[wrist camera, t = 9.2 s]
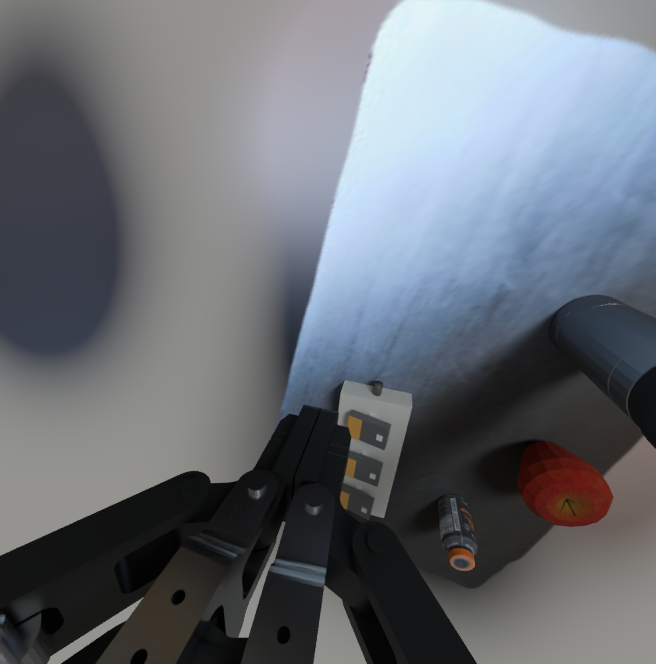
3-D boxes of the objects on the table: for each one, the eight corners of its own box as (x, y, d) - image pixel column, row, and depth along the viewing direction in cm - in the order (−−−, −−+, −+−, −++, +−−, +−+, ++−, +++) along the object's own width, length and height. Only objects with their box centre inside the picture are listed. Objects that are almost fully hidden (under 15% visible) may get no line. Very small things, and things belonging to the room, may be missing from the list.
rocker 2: (383, 462, 54) (381, 470, 53) (379, 480, 56) (377, 487, 54) (346, 449, 56) (342, 456, 55) (343, 466, 58) (340, 473, 57)
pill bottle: (473, 512, 61) (486, 574, 51) (443, 516, 63) (450, 576, 53) (462, 491, 60) (474, 551, 50) (432, 496, 62) (438, 554, 52)
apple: (594, 440, 50) (646, 508, 39) (553, 482, 54) (590, 552, 44) (527, 415, 50) (560, 474, 40) (492, 458, 55) (514, 521, 44)
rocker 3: (374, 498, 58) (371, 505, 56) (371, 513, 60) (368, 521, 58) (341, 481, 60) (337, 489, 59) (338, 497, 62) (335, 504, 61)
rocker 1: (391, 424, 50) (388, 430, 49) (386, 444, 52) (383, 451, 51) (352, 409, 53) (348, 415, 51) (349, 428, 55) (345, 435, 53)
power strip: (413, 384, 53) (414, 399, 49) (385, 500, 65) (383, 520, 61) (345, 370, 55) (340, 384, 51) (330, 486, 67) (325, 504, 63)
